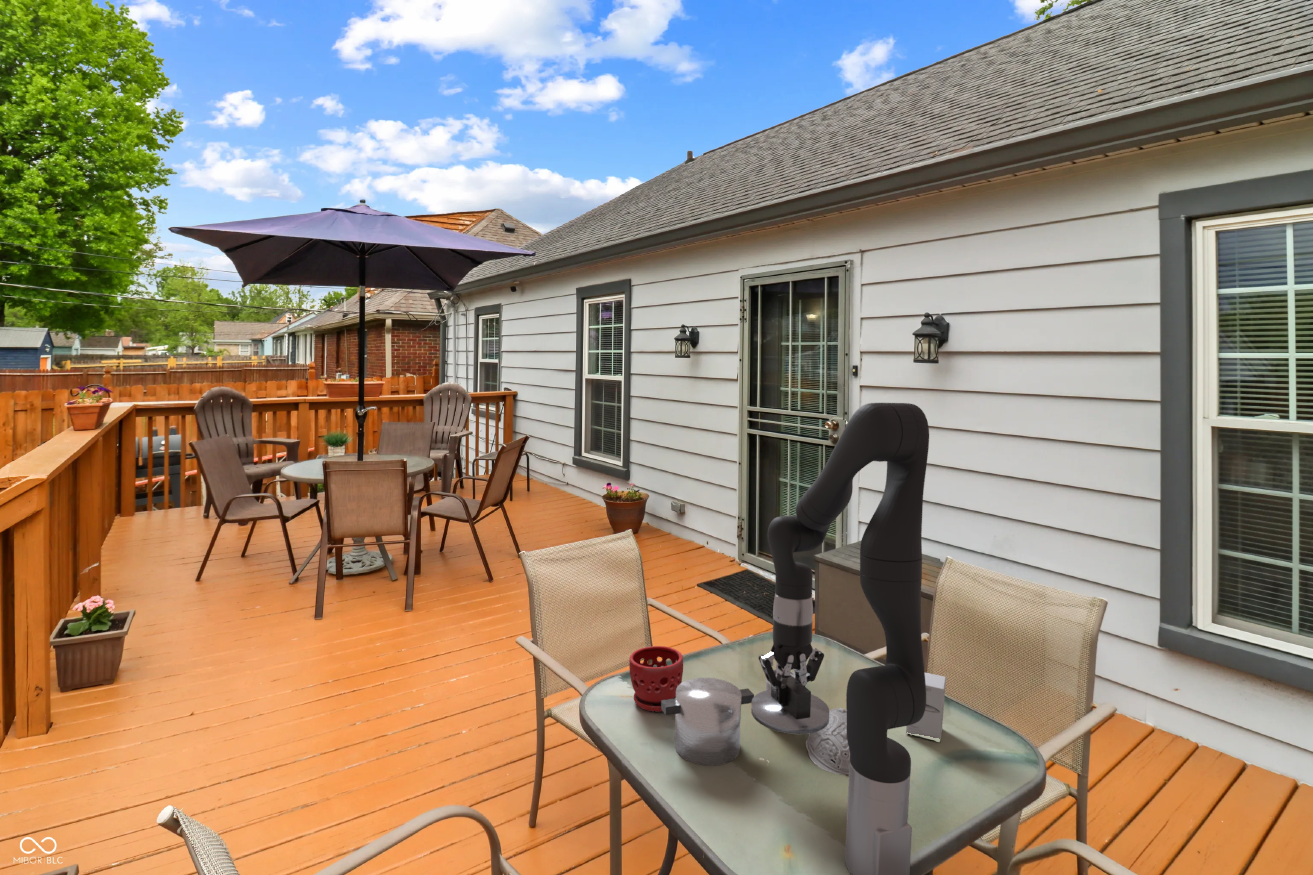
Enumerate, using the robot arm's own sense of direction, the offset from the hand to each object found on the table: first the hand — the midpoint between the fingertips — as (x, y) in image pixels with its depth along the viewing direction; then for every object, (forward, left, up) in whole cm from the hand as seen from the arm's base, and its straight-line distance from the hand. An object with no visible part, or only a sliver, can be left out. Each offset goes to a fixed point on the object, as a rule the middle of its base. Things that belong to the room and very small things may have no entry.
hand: (790, 702), depth 125 cm
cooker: (+15, +11, -16) cm, 24 cm away
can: (+19, -9, -16) cm, 26 cm away
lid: (0, 0, -2) cm, 2 cm away
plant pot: (+36, +16, -16) cm, 43 cm away
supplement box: (+7, -39, -16) cm, 43 cm away
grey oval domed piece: (+8, -18, -16) cm, 26 cm away
